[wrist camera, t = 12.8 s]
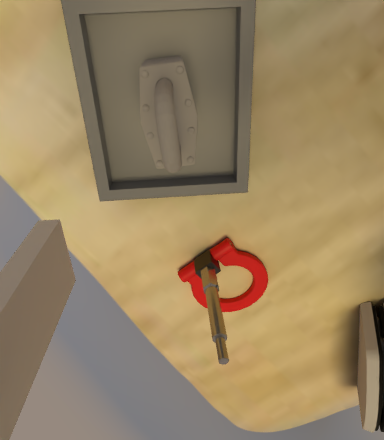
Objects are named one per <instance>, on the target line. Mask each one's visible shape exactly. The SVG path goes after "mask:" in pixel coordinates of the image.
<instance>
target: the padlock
mask: <svg viewBox="0 0 384 440" xmlns="http://www.w3.org/2000/svg"><path fill="white" fill-rule="evenodd" d="M139 77H140V123H141V126H142V129H143V131H144V134H145V137H146V140H147V143H148V146H149V148H150V151H151V154H152V157H153V160H154V163H155V166H156V168H157V169H163V168H165V169H166V170H167V171H168V172H171V173H175V172H178V171H179V170H180V169H181V167H182V166H187V165H193V164H194V163H195V152H196V136H197V119H198V115H197V111H196V107H195V103H194V99H193V96H192V92H191V88H190V84H189V81H188V77H187V73H186V69H185V66H184V62H183V59H182V57H181V56H173V57H165V58H158V59H150V60H145V61H144V62H143V64H142V65H141V66H140V68H139Z"/></svg>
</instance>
